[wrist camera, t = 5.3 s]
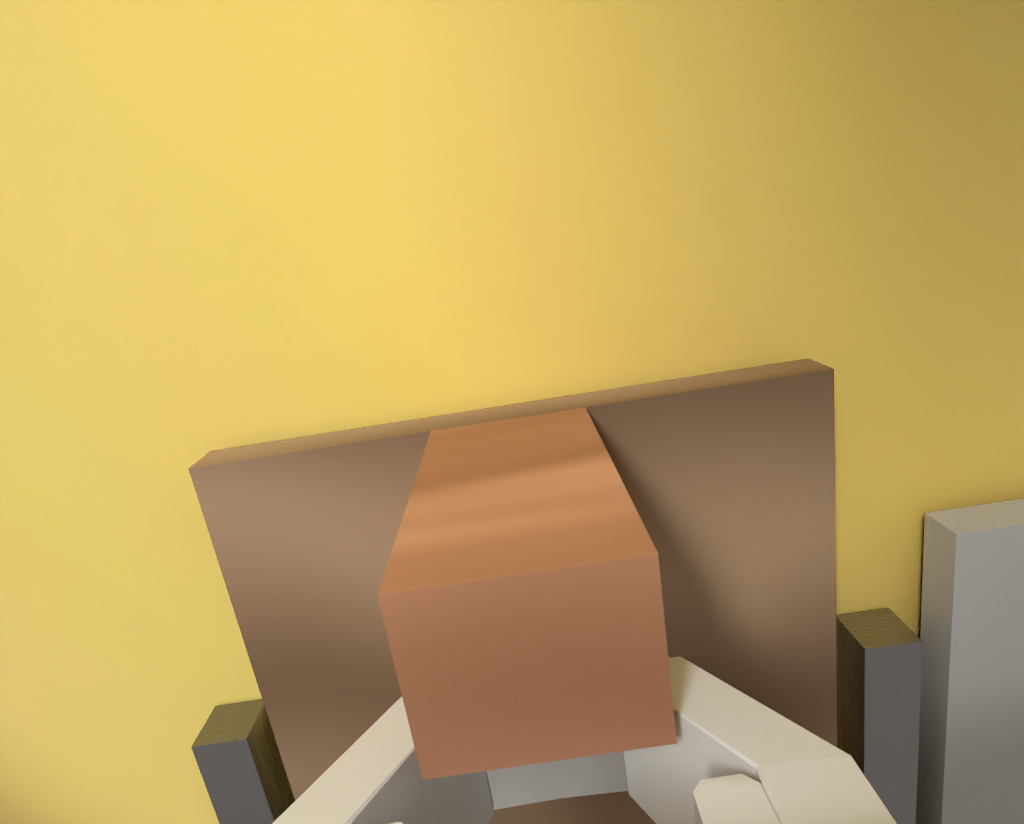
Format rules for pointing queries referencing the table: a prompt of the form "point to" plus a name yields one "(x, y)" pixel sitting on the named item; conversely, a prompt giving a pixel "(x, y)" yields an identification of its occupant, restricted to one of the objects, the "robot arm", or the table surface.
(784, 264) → the table surface
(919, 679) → the lane rails
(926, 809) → the grey sliding lid frame
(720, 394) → the brown flat tabbed frame
